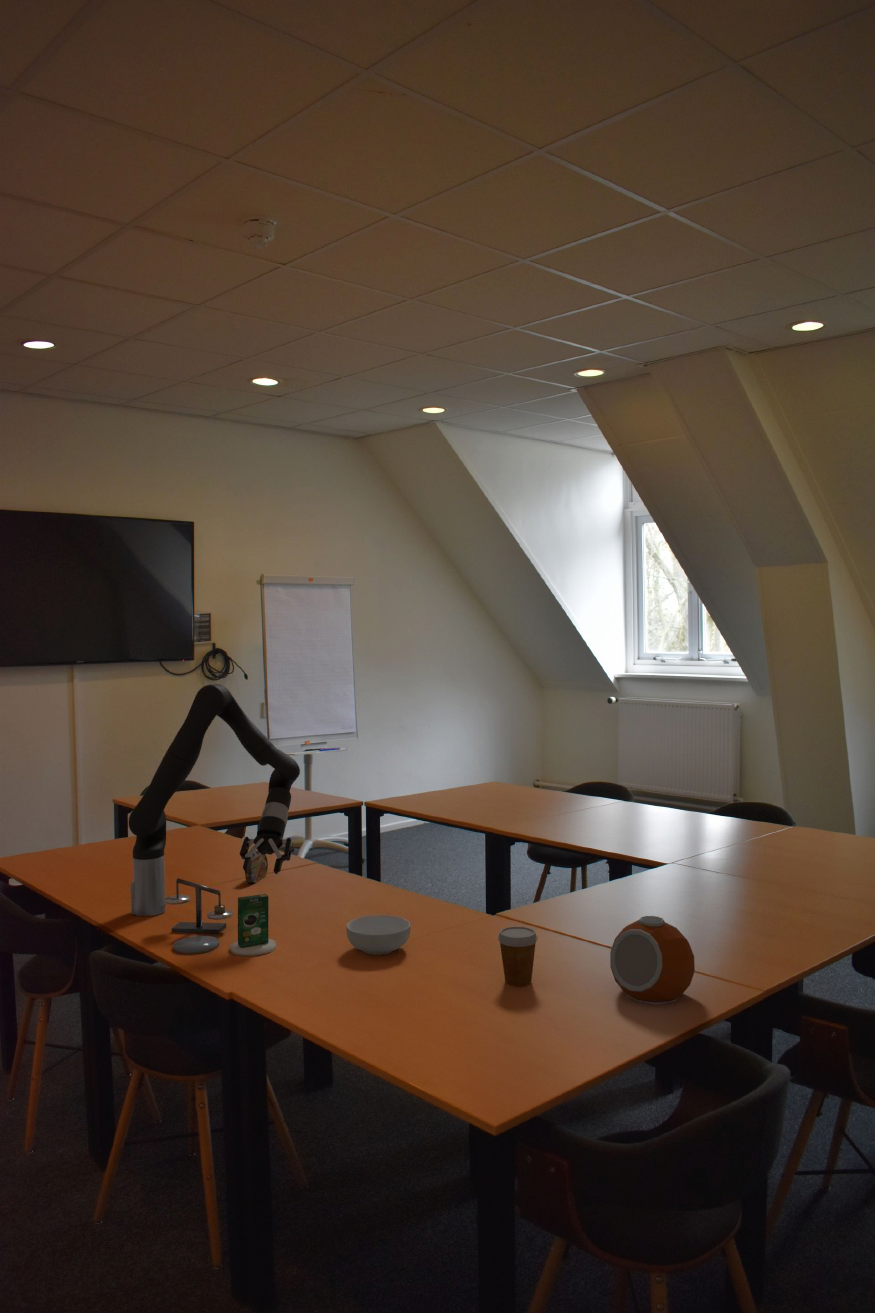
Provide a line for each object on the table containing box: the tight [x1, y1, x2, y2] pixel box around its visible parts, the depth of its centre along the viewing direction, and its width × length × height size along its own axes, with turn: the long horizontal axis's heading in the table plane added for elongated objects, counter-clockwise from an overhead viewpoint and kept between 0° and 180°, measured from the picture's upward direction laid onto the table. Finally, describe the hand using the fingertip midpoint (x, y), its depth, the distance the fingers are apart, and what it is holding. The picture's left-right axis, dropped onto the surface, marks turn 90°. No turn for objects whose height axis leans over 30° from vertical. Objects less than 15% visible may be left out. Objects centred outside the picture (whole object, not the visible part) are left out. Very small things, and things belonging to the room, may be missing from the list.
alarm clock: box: [609, 915, 696, 1005], centre depth 216 cm, size 19×18×17 cm
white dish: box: [229, 938, 277, 957], centre depth 252 cm, size 12×12×1 cm
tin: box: [244, 853, 269, 884], centre depth 324 cm, size 15×3×8 cm, turn 168°
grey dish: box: [173, 935, 220, 955], centre depth 254 cm, size 12×12×1 cm
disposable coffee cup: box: [497, 925, 538, 987], centre depth 225 cm, size 10×10×12 cm
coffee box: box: [237, 893, 270, 948], centre depth 252 cm, size 8×3×13 cm, turn 120°
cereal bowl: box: [346, 914, 411, 956], centre depth 249 cm, size 17×17×7 cm
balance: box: [165, 878, 233, 935], centre depth 269 cm, size 20×7×15 cm, turn 82°
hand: (260, 872), depth 261 cm, fingers open, 8 cm apart
